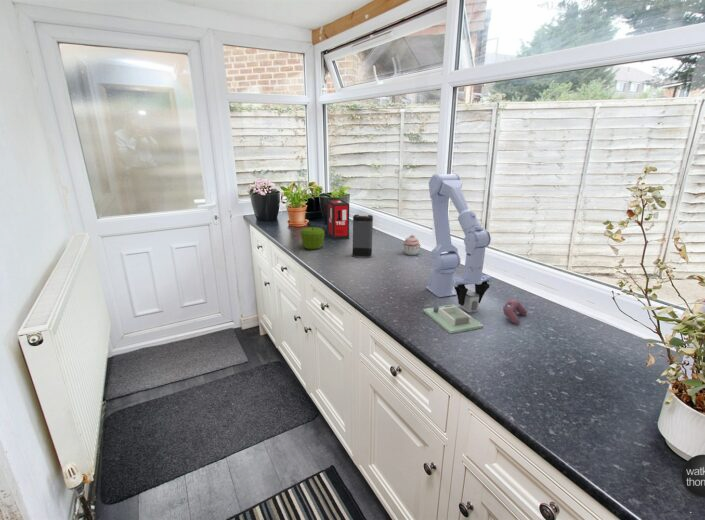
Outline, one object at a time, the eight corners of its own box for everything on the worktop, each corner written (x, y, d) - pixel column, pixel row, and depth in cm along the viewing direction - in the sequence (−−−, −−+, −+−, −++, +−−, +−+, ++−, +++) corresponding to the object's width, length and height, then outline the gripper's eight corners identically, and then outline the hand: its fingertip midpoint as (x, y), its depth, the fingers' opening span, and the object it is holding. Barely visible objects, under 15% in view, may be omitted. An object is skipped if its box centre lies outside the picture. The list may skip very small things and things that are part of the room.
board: (423, 311, 126) (423, 303, 125) (453, 306, 130) (454, 299, 129) (449, 333, 112) (450, 325, 111) (483, 327, 116) (484, 319, 115)
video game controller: (515, 316, 127) (508, 296, 127) (528, 314, 124) (521, 294, 124) (505, 326, 120) (498, 306, 120) (520, 325, 117) (512, 304, 117)
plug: (459, 306, 130) (461, 290, 128) (468, 305, 131) (470, 289, 130) (469, 313, 125) (471, 296, 123) (478, 311, 126) (480, 295, 125)
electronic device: (371, 254, 186) (373, 214, 180) (371, 258, 181) (372, 217, 175) (353, 253, 187) (353, 214, 181) (352, 257, 182) (352, 216, 175)
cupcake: (400, 255, 185) (401, 236, 182) (402, 250, 194) (403, 231, 191) (419, 257, 183) (421, 237, 180) (421, 252, 192) (422, 233, 189)
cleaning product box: (348, 238, 215) (349, 204, 208) (333, 239, 212) (333, 204, 206) (341, 232, 230) (341, 199, 223) (327, 232, 227) (326, 200, 221)
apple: (323, 251, 190) (323, 230, 186) (299, 251, 190) (298, 229, 186) (325, 244, 201) (325, 224, 198) (303, 244, 202) (302, 224, 198)
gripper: (462, 272, 118) (457, 311, 122) (499, 267, 122) (494, 305, 127) (449, 265, 124) (446, 302, 128) (486, 261, 129) (481, 297, 133)
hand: (469, 303), depth 128 cm, fingers open, 6 cm apart
